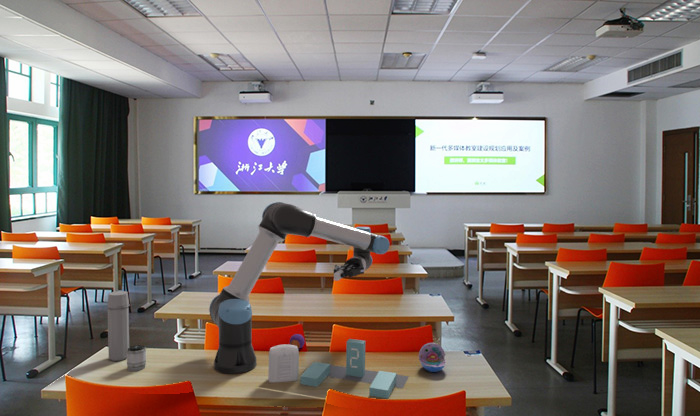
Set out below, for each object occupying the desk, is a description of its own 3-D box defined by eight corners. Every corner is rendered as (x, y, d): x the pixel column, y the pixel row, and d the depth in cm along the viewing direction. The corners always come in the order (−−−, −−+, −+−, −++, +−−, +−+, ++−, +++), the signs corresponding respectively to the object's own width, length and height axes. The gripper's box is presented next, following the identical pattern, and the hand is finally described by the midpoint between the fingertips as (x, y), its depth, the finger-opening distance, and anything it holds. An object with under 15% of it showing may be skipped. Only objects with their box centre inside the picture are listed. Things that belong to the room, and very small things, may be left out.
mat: (302, 373, 169) (302, 372, 169) (313, 363, 178) (313, 362, 178) (402, 389, 158) (402, 388, 158) (408, 377, 167) (408, 376, 167)
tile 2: (345, 375, 167) (346, 341, 166) (348, 371, 170) (349, 338, 169) (362, 377, 165) (362, 343, 165) (364, 374, 168) (365, 340, 168)
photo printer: (297, 376, 167) (298, 341, 166) (299, 381, 163) (299, 346, 162) (268, 378, 164) (268, 343, 164) (268, 384, 160) (268, 348, 159)
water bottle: (121, 362, 176) (120, 296, 175) (103, 360, 178) (101, 294, 176) (137, 353, 185) (136, 290, 184) (119, 351, 187) (118, 289, 185)
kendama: (275, 354, 177) (290, 332, 197) (278, 369, 178) (293, 346, 197) (290, 352, 176) (304, 330, 195) (293, 367, 177) (307, 344, 196)
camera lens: (126, 372, 168) (126, 351, 167) (127, 366, 174) (127, 344, 173) (146, 370, 170) (145, 348, 170) (146, 363, 176) (146, 342, 175)
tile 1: (314, 370, 171) (300, 385, 160) (314, 361, 171) (300, 376, 160) (330, 372, 169) (317, 388, 158) (330, 364, 169) (317, 378, 158)
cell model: (422, 377, 167) (423, 350, 166) (415, 364, 179) (416, 339, 178) (450, 377, 168) (451, 350, 167) (442, 363, 180) (442, 338, 179)
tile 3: (379, 379, 164) (369, 396, 152) (379, 370, 163) (369, 387, 152) (396, 382, 162) (387, 399, 150) (396, 373, 161) (387, 390, 150)
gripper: (369, 276, 201) (351, 288, 178) (340, 273, 205) (319, 285, 183) (369, 258, 200) (352, 268, 178) (340, 256, 204) (319, 265, 182)
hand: (335, 277), depth 180 cm, fingers closed
